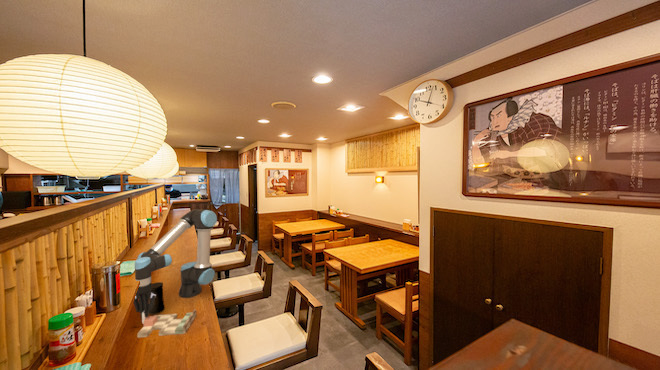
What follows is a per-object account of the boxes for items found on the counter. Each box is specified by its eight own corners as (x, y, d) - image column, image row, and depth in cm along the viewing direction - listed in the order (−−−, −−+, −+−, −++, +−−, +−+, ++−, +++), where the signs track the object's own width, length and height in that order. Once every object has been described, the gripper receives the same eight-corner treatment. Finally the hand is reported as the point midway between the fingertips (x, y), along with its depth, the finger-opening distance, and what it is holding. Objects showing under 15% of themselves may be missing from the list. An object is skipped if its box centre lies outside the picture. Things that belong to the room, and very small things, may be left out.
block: (148, 321, 151) (148, 316, 150) (157, 320, 151) (157, 315, 151) (143, 326, 146) (143, 321, 145) (152, 325, 147) (152, 321, 146)
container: (146, 311, 165) (145, 285, 164) (162, 305, 172) (161, 280, 170) (150, 316, 159) (148, 289, 158) (166, 310, 166) (165, 284, 164)
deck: (153, 319, 157) (153, 312, 156) (196, 315, 161) (195, 309, 160) (137, 337, 140) (137, 330, 140) (185, 333, 144) (185, 326, 144)
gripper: (127, 287, 141) (128, 326, 143) (151, 286, 143) (153, 325, 145) (135, 281, 149) (136, 319, 151) (158, 280, 151) (159, 317, 153)
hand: (144, 322), depth 148 cm, fingers closed
